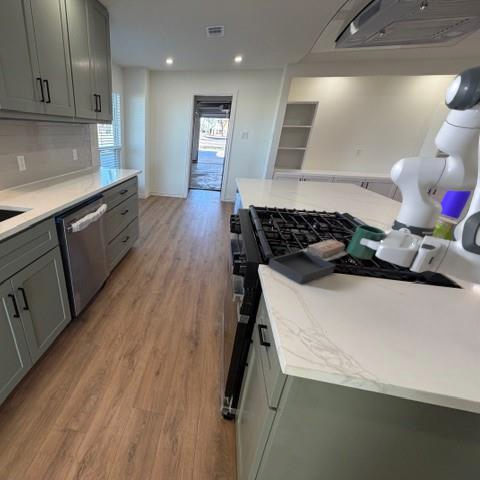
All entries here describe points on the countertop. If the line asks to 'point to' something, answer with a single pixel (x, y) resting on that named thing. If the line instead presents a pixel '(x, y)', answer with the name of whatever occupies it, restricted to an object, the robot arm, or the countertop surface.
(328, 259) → the packaged product
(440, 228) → the tea box
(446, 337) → the countertop surface
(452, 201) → the bottle
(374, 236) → the enamel cup
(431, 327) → the countertop surface
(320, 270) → the baking tray
